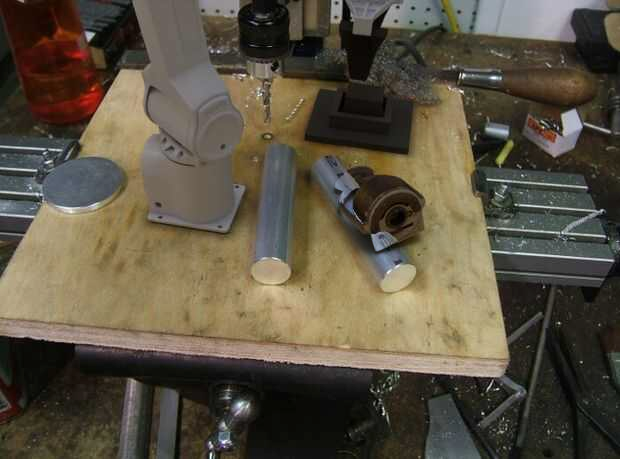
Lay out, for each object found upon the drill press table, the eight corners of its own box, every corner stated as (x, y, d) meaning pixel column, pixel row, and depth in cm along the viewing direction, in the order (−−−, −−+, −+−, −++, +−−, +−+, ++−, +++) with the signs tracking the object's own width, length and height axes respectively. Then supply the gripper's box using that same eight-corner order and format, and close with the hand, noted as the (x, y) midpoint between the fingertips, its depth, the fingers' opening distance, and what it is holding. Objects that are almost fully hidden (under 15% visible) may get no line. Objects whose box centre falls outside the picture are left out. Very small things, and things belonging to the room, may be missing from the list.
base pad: (304, 140, 76) (305, 121, 74) (319, 94, 84) (320, 76, 82) (407, 154, 74) (411, 136, 72) (412, 106, 83) (415, 88, 81)
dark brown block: (342, 122, 77) (345, 97, 75) (346, 106, 80) (349, 81, 77) (378, 127, 77) (382, 102, 74) (381, 111, 80) (385, 86, 77)
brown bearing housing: (332, 222, 57) (431, 208, 56) (326, 138, 65) (412, 124, 64) (341, 262, 62) (432, 251, 61) (335, 180, 71) (414, 168, 69)
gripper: (407, -20, 57) (388, 97, 66) (414, -65, 67) (396, 42, 77) (338, -28, 58) (329, 89, 67) (355, -71, 68) (346, 35, 77)
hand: (361, 64), depth 72 cm, fingers open, 7 cm apart
